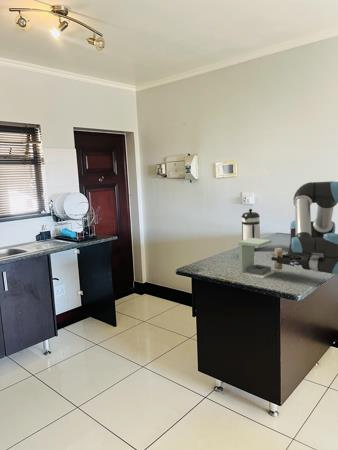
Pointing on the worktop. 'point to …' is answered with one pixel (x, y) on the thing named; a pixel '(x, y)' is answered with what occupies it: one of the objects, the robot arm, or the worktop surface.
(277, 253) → the peg
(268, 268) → the awning socket
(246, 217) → the coffee press
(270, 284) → the worktop surface
